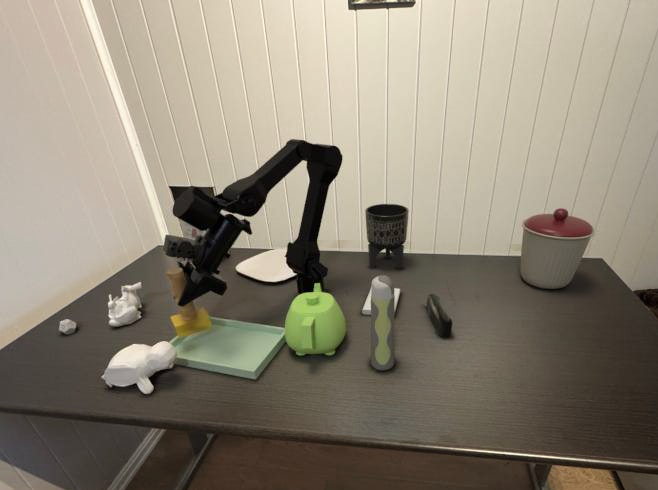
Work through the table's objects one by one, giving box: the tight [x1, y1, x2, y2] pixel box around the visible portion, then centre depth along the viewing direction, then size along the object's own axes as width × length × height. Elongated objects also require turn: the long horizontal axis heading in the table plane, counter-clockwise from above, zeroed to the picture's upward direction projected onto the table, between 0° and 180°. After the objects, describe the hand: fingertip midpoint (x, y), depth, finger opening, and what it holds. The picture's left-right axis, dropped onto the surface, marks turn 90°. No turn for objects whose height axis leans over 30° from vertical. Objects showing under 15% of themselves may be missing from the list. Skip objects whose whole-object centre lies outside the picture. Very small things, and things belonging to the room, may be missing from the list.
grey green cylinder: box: [370, 274, 395, 371], centre depth 73 cm, size 5×5×20 cm
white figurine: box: [107, 281, 143, 328], centre depth 93 cm, size 12×8×10 cm, turn 168°
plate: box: [235, 248, 298, 283], centre depth 119 cm, size 22×22×2 cm
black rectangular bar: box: [424, 293, 453, 338], centre depth 90 cm, size 5×3×15 cm
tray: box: [168, 316, 287, 380], centre depth 83 cm, size 24×16×2 cm, turn 74°
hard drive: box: [361, 286, 401, 316], centre depth 99 cm, size 2×8×12 cm
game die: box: [58, 318, 77, 335], centre depth 90 cm, size 4×4×3 cm
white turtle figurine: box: [100, 340, 178, 395], centre depth 73 cm, size 9×8×15 cm
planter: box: [364, 203, 410, 270], centre depth 116 cm, size 13×13×18 cm
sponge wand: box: [166, 267, 212, 338], centre depth 79 cm, size 7×5×14 cm
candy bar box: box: [177, 218, 208, 240], centre depth 123 cm, size 11×5×16 cm, turn 68°
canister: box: [519, 207, 597, 290], centre depth 103 cm, size 18×18×21 cm
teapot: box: [284, 283, 347, 356], centre depth 81 cm, size 20×13×13 cm
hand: (177, 302), depth 79 cm, fingers closed on sponge wand, 3 cm apart
